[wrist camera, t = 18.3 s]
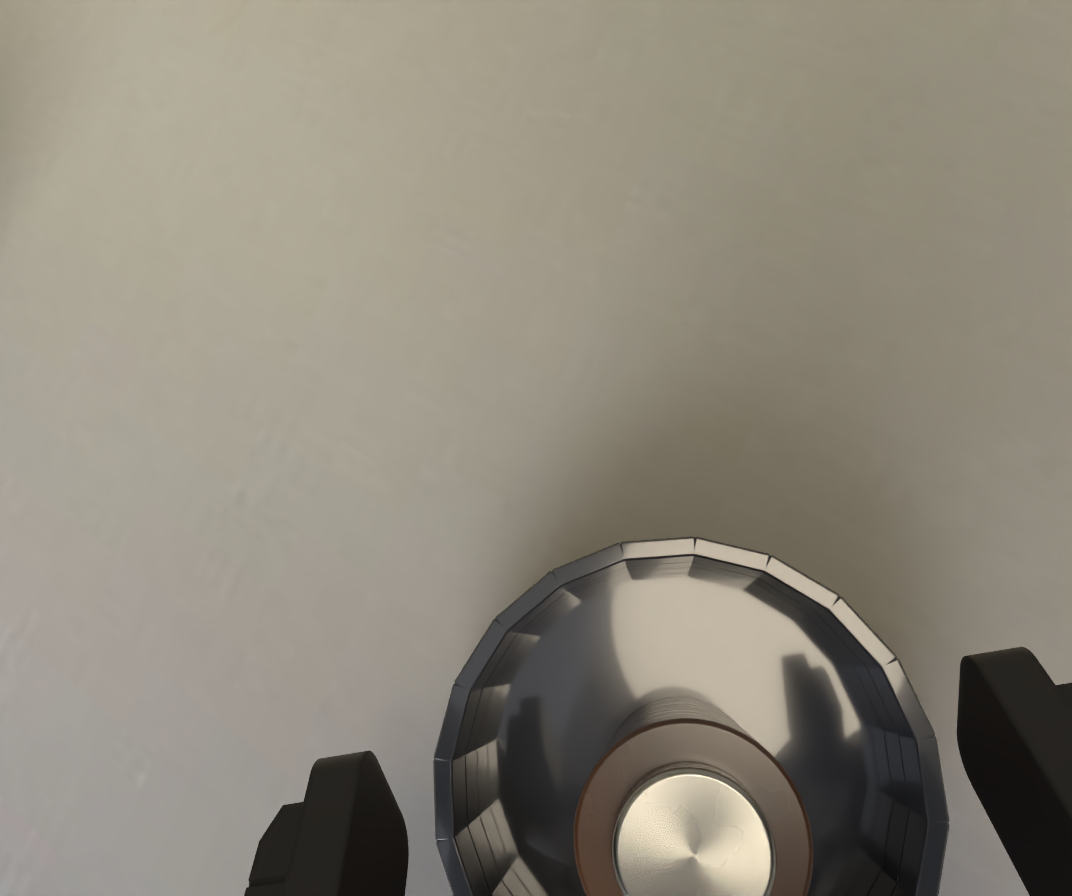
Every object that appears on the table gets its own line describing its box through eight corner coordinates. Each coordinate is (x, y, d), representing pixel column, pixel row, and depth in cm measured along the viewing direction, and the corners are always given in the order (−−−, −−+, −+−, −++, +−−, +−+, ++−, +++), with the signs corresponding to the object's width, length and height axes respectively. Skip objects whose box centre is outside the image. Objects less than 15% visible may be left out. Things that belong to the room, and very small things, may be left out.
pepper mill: (673, 893, 19) (682, 1056, 11) (572, 763, 20) (516, 831, 12) (792, 790, 19) (881, 880, 11) (687, 665, 20) (703, 670, 12)
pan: (656, 1117, 19) (655, 1202, 16) (384, 735, 21) (340, 747, 18) (1003, 810, 19) (1064, 837, 16) (695, 471, 22) (701, 443, 19)
